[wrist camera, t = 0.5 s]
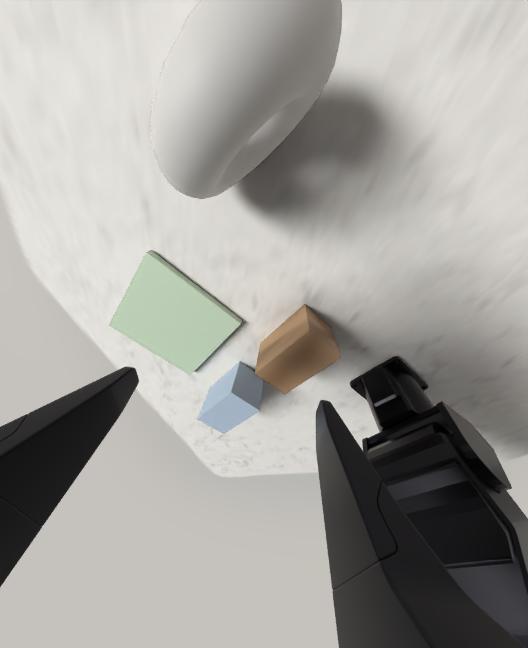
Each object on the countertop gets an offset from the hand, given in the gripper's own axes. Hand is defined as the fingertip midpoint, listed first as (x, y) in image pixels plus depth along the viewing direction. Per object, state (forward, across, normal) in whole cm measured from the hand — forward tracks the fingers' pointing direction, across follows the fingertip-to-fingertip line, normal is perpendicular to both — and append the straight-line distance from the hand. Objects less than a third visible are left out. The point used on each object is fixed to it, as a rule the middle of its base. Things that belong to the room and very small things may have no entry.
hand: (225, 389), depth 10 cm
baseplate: (+12, +9, +5) cm, 16 cm away
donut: (+13, +2, -12) cm, 17 cm away
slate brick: (+13, +2, +14) cm, 19 cm away
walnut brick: (+13, -4, +5) cm, 14 cm away
